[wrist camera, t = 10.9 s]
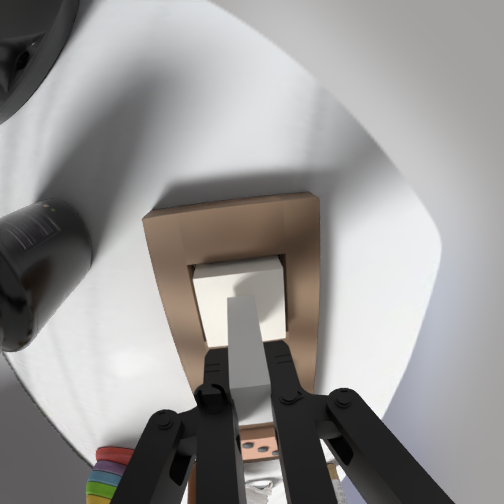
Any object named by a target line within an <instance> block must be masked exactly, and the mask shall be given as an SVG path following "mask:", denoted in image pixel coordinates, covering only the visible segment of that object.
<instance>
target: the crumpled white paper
mask: <svg viewBox="0 0 504 504" xmlns="http://www.w3.org/2000/svg"><path fill="white" fill-rule="evenodd" d="M272 487H273V483H272V482H270V483H269V485H267V487H266V488H264V489H263V490H262V489H258V488H255V487H253V486H251V485H248V484H245V489H246V499H247V504H267V502H268V498H267V497H268V496H270V495H271V492H272Z"/></svg>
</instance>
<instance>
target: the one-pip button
mask: <svg viewBox="0 0 504 504" xmlns="http://www.w3.org/2000/svg"><path fill="white" fill-rule="evenodd" d="M193 283H194V288H195V292H196V297H197V302H198V306H199V311H200V315H201V319H202V324H203V328H204V332H205V336H206V340H207V344H208V347H217V346H227V345H228V325H227V298H228V297H237V296H245V295H253V294H254V298H255V304H256V309H257V314H258V320H259V325H260V330H261V336H262V341H269V340H276V339H282V338H286V328H285V301H284V279H283V267H282V265H281V263H280V260H279V258H278V256H277V254H276V255H267V256H259V257H251V258H242V259H234V260H226V261H217V262H209V263H200V264H196V267H195V271H194V275H193Z"/></svg>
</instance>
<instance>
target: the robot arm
mask: <svg viewBox="0 0 504 504" xmlns="http://www.w3.org/2000/svg"><path fill="white" fill-rule="evenodd" d="M78 4H79V0H0V124H2V123H3V122H5V121H6V120H8V119H9V118H10V117H11V116H12V115H14V114H15V113H16V112H17V111H18V110H19V109H20V108H21V107H22V106H23V105H24V103H25V102H26V101H27V100H28V99H29V98H30V96H31V95H32V94H33V93H34V91H35V90H36V89H37V87H38V86H39V85H40V83H41V82H42V80H43V79H44V77H45V76H46V75H47V73H48V71H49V70H50V68H51V67H52V65H53V63H54V62H55V60H56V58H57V56H58V55H59V53H60V51H61V49H62V47H63V45H64V43H65V41H66V39H67V37H68V35H69V32H70V30H71V28H72V25H73V22H74V19H75V16H76V13H77V9H78ZM227 325H228V347H227V348H216V349H209V351H208V352H207V354H206V355H205V359H204V375H203V384H201V385H199V386H198V387H197V388H196V389H195V392H194V398H195V401H196V403H197V406H196V407H195V408H193V409H191V410H189V411H186V412H182V413H179V414H177V413H176V412H175V411H172V410H165V409H164V410H160V411H157V412H156V413H154V414H153V415H152V416H151V418H150V419H149V421H148V423H147V425H146V427H145V429H144V431H143V433H142V435H141V438H140V440H139V442H138V444H137V446H136V448H135V450H134V452H133V454H132V456H131V458H130V460H129V463H128V465H127V467H126V469H125V471H124V473H123V475H122V477H121V480H120V482H119V484H118V486H117V488H116V490H115V492H114V495H113V497H112V499H111V501H110V503H109V504H181V501H182V498H183V495H184V492H185V489H186V486H187V483H188V480H189V477H190V474H191V471H192V468H193V464H194V461H195V458H196V504H247V499H246V489H245V479H244V469H243V458H242V447H241V436H240V433H239V426H240V425H250V424H258V423H266V422H273V423H274V431H275V440H276V443H277V449H278V454H279V460H280V465H281V471H282V477H283V482H284V488H285V493H286V499H287V504H338V501H337V498H336V494H335V491H334V487H333V484H332V480H331V477H330V473H329V470H328V466H327V463H326V460H325V456H324V453H323V449H322V446H321V443H320V439H323V441H324V442H325V444H326V445H327V447H328V448H329V450H330V451H331V453H332V454H333V456H334V457H335V459H336V460H337V462H338V463H339V464H340V466H341V467H342V469H343V470H344V472H345V473H346V475H347V476H348V477H349V479H350V480H351V482H352V483H353V485H354V486H355V487H356V489H357V490H358V491H359V493H360V494H361V496H362V497H363V499H364V500H365V501H366V503H367V504H455V503H454V502H453V501H452V500H451V499H450V498H449V497H448V495H447V494H446V493H445V492H444V491H443V490H442V489H441V488H440V487H439V486H438V485H437V483H436V482H435V481H434V480H433V479H432V478H431V477H430V475H429V474H428V473H427V472H426V471H425V470H424V469H423V468H422V466H421V465H420V464H419V463H418V462H417V461H416V460H415V459H414V457H413V456H412V455H411V454H410V453H409V452H408V451H407V449H406V448H405V447H404V446H403V445H402V444H401V443H400V442H399V440H398V439H397V438H396V437H395V436H394V435H393V434H392V433H391V431H390V430H389V429H388V428H387V427H386V426H385V425H384V423H383V422H382V421H381V420H380V419H379V417H378V416H377V415H376V414H375V413H374V412H373V411H372V409H371V408H370V407H369V406H368V405H367V404H366V402H365V401H364V400H363V399H362V398H361V397H360V396H359V394H358V393H356V392H355V391H354V390H352V389H349V388H339V389H335V390H334V391H332V392H331V393H330V394H329V395H315V394H311V393H308V392H307V391H305V390H304V389H303V388H302V387H301V384H300V382H299V378H298V375H297V372H296V368H295V365H294V362H293V358H292V355H291V352H290V348H289V346H288V345H287V344H286V343H285V342H284V341H283V340H278V341H271V342H263V341H262V336H261V330H260V325H259V320H258V314H257V309H256V304H255V298H254V294H253V295H245V296H237V297H228V298H227Z"/></svg>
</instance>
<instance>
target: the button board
mask: <svg viewBox="0 0 504 504" xmlns="http://www.w3.org/2000/svg"><path fill="white" fill-rule="evenodd" d="M142 222H143V227H144V232H145V236H146V241H147V245H148V250H149V254H150V258H151V262H152V266H153V270H154V274H155V278H156V282H157V286H158V289H159V293H160V297H161V300H162V304H163V307H164V311H165V314H166V317H167V321H168V324H169V327H170V330H171V333H172V337H173V340H174V343H175V346H176V349H177V352H178V355H179V358H180V360H181V363H182V366H183V369H184V372H185V374H186V377H187V380H188V382H189V385H190V388H191V390H192V393H193V395H194V392H195V389H196V388H197V387H198V386H199V385H201V384H203V375H204V359H205V355H206V354H207V352H208V351H209V349H216V348H227V347H228V345H227V346H217V347H208V344H207V340H206V336H205V332H204V328H203V324H202V319H201V315H200V311H199V306H198V302H197V297H196V292H195V288H194V283H193V275H194V267H193V264H200V263H209V262H217V261H226V260H234V259H242V258H251V257H259V256H267V255H276V254H280V255H281V265H282V267H283V279H284V301H285V328H286V338H282V339H276V340H269V341H263V342H271V341H278V340H283V341H284V342H285V343H286V344H287V345H288V346H289V348H290V352H291V355H292V358H293V362H294V365H295V368H296V372H297V375H298V378H299V382H300V384H301V387H302V388H303V389H304V390H305V391H307V392H308V393H311V394H313V390H314V379H315V367H316V354H317V338H318V319H319V292H320V206H319V197H317V196H315V195H314V194H312V193H310V192H301V193H289V194H278V195H267V196H257V197H248V198H239V199H230V200H222V201H214V202H206V203H199V204H191V205H184V206H177V207H171V208H164V209H158V210H152V211H150V212H149V213H148V214H147V215H146V216H144V217H143V218H142ZM271 426H274V423H273V422H266V423H258V424H250V425H240V426H239V430H246V429H255V428H263V427H271ZM275 459H279V456H273V457H265V458H257V459H247V460H243V463H250V462H260V461H268V460H275Z"/></svg>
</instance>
